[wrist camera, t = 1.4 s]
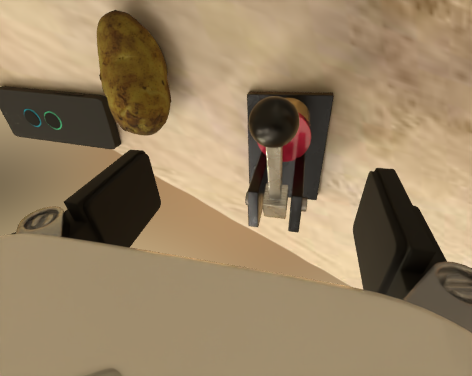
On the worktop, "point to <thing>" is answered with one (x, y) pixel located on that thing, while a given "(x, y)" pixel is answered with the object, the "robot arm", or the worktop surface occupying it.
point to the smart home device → (60, 116)
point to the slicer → (293, 172)
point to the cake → (297, 134)
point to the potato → (132, 74)
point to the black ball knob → (274, 147)
